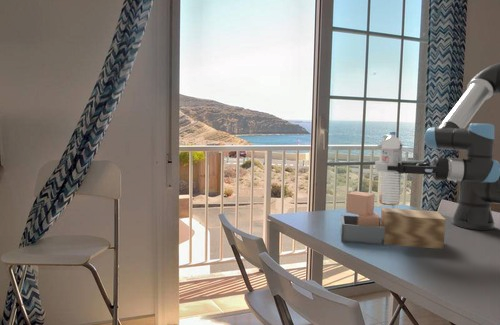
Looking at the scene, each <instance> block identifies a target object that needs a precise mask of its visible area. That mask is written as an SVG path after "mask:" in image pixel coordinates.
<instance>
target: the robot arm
mask: <svg viewBox="0 0 500 325" xmlns="http://www.w3.org/2000/svg"><path fill="white" fill-rule="evenodd" d="M499 94H500V62H497V63H495V64H492V65H490V66H487V67H485V68H484V69H483V70H480V71H479V72H478V73H477V74H475V75H474V76H473V77H472V78H471V79H470V81H469V82H468V83H467V85H466V90H465V92H463V94H462V95H461V97H460V98H459V100H458V101H457V102H456V103H455V105H454V106H453V107H452V109H451V110H450V111H449V112H448V113H447V115H446V116H445V118H444V119H443V120H442V122H441V123H440V124H439V125H438V126H437V127H436V126H434V127H429V128H428V129H427V130H426V131H425V133H424V139H423V140H424V143H425V144H424V145H426V147H428V148H431V149H437V150H447V151H449V150H452V151H463V152H466V158H458V157H457V158H456V157H449V158H446V157H435V158H434V160H433V163H432V164H430V162H429V161H423V162H420V161H416V162H415V161H412V162H411V161H401V163H398V166H397V164H386V163H381V160H375V162H374V169H376V172H381V171H382V172H398V173H401V175H403V174H413V175H414V174H415V175H417V174H418V175H426V176H429V175H432V177H433V180H435V181H446V180H447V181H453V183H457V182H459V192H458V203H457V204H458V205H457V208H456V210H455V211H454V214H453V216H452V220H451V223H452V224H453V225H454V226H457V227H460V228H464V229H468V230H469V229H470V230H478V231H479V230H480V231H489V230H494V228H495V221H494V218H493V213H492V210H491V209H492V208H491V205H492V204H496V205H500V162H499V161H498V160H496V159H493V158H494V157H493V156H494V145H495V137H496V136H495V125H494V124H493V123H480V122H479V123H477V122H476V123H474V122H472V123H470V122H471V120H472V119H473V118H474V116H475V115H476V113H477V112H478V111H479V109H480V108H481V107H482V105H483V104H484V102H485V101H487V100H489V99H490V98H491V97H492V96H494V95H499ZM468 125H469V126H468ZM467 126H468V127H467Z"/></svg>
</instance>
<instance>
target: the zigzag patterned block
mask: <svg viewBox="0 0 500 325" xmlns="http://www.w3.org/2000/svg"><path fill="white" fill-rule="evenodd" d="M380 218H381V221H380V227H385V236H384V245H390V246H401V247H402V246H403V247H414V248H425V249H426V248H427V249H436V250H437V249H440V250H444V245H445V235H446V234H445V233H446V223H447V222H446V220H447V219H446V218H445V217H444V216H442V214H440V212H438V210H437V211H434V210H420V209H419V210H418V209H405V208H390V207H381V211H380Z"/></svg>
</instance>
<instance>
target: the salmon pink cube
mask: <svg viewBox="0 0 500 325" xmlns="http://www.w3.org/2000/svg"><path fill="white" fill-rule="evenodd" d="M375 194H376V193H372V192H371V193H370V192H364V191H357V190H355V191H351V192H350V191H349V192H347V194H346V205H345V206H346V209H345V213H347V214H352V215H353V214H354V215H357V214H358V215H364V216H367V215H369V214H372V213H375V210H374V209H375V197H376V196H375Z"/></svg>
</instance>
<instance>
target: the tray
mask: <svg viewBox="0 0 500 325" xmlns="http://www.w3.org/2000/svg"><path fill="white" fill-rule="evenodd" d="M340 217H341V218H340V219H341V220H340V237H341V238H340V242H341V243H353V244H366V245H378V246H385V244H384V236H385V227H380V224H381V217H380V220H379V227H377V226H363V225H357V215H346V214H342V215H341V216H340Z"/></svg>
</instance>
